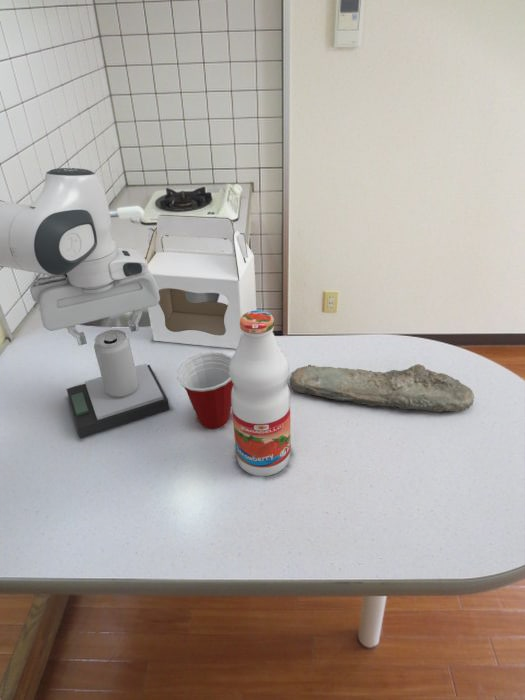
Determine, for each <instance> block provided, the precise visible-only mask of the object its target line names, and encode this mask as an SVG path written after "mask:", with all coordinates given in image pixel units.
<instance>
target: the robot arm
mask: <svg viewBox="0 0 525 700" xmlns="http://www.w3.org/2000/svg"><path fill="white" fill-rule="evenodd" d="M145 258H146V257H145V256H144V255H143V254H142V253H141V251H139V250H138V249H136V248H127V247H118V246H117V244H116V241H115V240H114V238H113V235H112V218H111V212H110V208H109V203H108V199H107V196H106V192H105V189H104V187H103V184H102V182H101V180H100V178H99V176H98V175H97V173H95V172H94V171H92V170H89V169H85V168H77V167H76V168H75V167H69V168H67V167H60V168H58V167H57V168H53V169H49V170H48V171H46V172H45V176H44V186H43V188H42V190H41V192H40V194H39V195H38V197H37V198H36V199H35V200H34V201H33V202H32V203H31V204H27V203H18V202H10V201H4V200H0V268H8V269H13V270H19V271H25V272H30V273H37V274H43V275H48V276H41V277H38V278H37V280H35V281H33V282H32V283H31V285H30V289H29V292H30V294H31V299H32V300H33V301H34V302H35V303H36V304H38V310H39V315H40V319H41V323H42V326H43V328H44V329H45V330H47V331H49V332H54V331H58V330H63V329H66V330H67V333H68V334H70V335H71V336H72V337H74V339H75V340H76V342H77V345H78V346H84V345H87V343H88V342H87V339H86V335H85V332H84V331H78V330H77V327H76V326H78V325H82V324H83V325H84V324H86V323H91V322H95V321H99V320H103V319H108V318H112V317H116V316H120V315H124V314H127V313H133V314H132V317H131V319H129V320H127V324H128V329H129V332H131V333H133V332H138V331H140V328H139V322H140V320H141V318H142V316H143V309H144V310H145V309H148V308H149V307H153V306H156V305H157V304H158V302H159V301H160V296H159V291H158V288H157V284H156V281H155V279H154V277H153V276H152V274H151V273H150V271H149V270H148V264H147V261H146V259H145Z"/></svg>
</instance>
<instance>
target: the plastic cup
mask: <svg viewBox="0 0 525 700" xmlns="http://www.w3.org/2000/svg"><path fill="white" fill-rule="evenodd" d="M232 357H233V355H230V354H227V353H225V352H223V351H221V352H219V351H208V352H202V353H197V354H195V355H193V356H191V357H189V358H188V359H186V360H185V361H184V362H182V363H181V365H180V366H179V368H178V369H177V373H176V379H177V381H178V382H179V384H180V385H181V386H182V387H183V388H184V389H185V391H186V393H187V396H188V398H189V401H190V403H191V407H192V408H193V410H194V412H195V415H196V418H197V420H198V422H199V424H200V425H201V426H202V427H204V428H205V429H210V430H214V429H216V430H217V429H220V428H222V427H224V426H225V425H227V424H228V423H229V420H230V417H231V411H232V406H231V391H232V387H233V383H232V380H231V378H230V373H229V366H230V361H231V359H232Z"/></svg>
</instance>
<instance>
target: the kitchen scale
mask: <svg viewBox="0 0 525 700" xmlns="http://www.w3.org/2000/svg"><path fill="white" fill-rule="evenodd" d="M135 369H136V374H137V378H138V387H137V389H136V390H135V391H133V392H132V393H131V394H130V395H128V396H125V397H115V396H111V395H109V394H108V393H107V392H106V391H105V387H104V384H103V380H102V376H99V377H95V378H92V379H87V380H86V381H84V383H81V384H78V385H73V386H71V387H68V388H66V392H67V396H68V400H69V404H70V407H71V411H72V415H73V417H74V418H73V419H74V422H75V425H76V429H77V432H78V435H79V438H80V439H84V438H87V437H90V436H92V435H96V434H99V433H101V432H104V431H107V430H112V429H114V428H118V427H120V426H123V425H127V424H129V423H132V422H135V421H139V420H142V419H145V418H148V417H151V416H154V415H157V414H160V413H163V412H166V411H169V410H170V404H169V400H168V397H167V395H166V394H165V391H164V389H163V387H162V386H161V384H160V382H159V381H158V379H157V376H156V374H155V372H154V371H153V369H152V367H151V365H150V364H147V363H143V364H140V365H137V366H136V365H135Z"/></svg>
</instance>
